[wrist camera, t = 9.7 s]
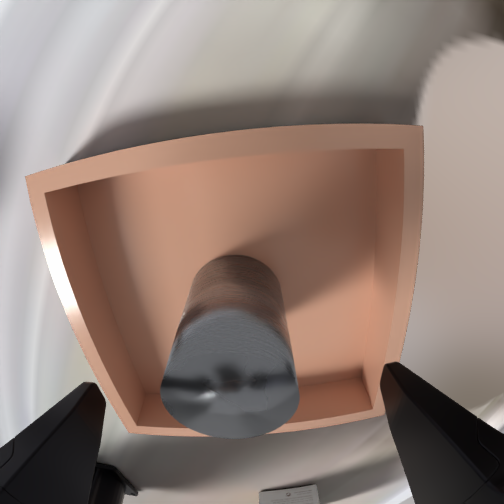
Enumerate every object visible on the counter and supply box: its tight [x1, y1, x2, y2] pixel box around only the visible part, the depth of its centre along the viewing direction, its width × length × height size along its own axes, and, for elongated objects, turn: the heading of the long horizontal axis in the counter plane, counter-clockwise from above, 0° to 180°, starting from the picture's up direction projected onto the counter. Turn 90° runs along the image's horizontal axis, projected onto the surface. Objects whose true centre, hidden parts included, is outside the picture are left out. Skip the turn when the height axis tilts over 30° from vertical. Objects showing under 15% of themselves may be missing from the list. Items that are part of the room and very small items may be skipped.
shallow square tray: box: [25, 123, 424, 436], centre depth 13 cm, size 14×14×3 cm
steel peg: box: [160, 255, 300, 439], centre depth 11 cm, size 4×4×6 cm
